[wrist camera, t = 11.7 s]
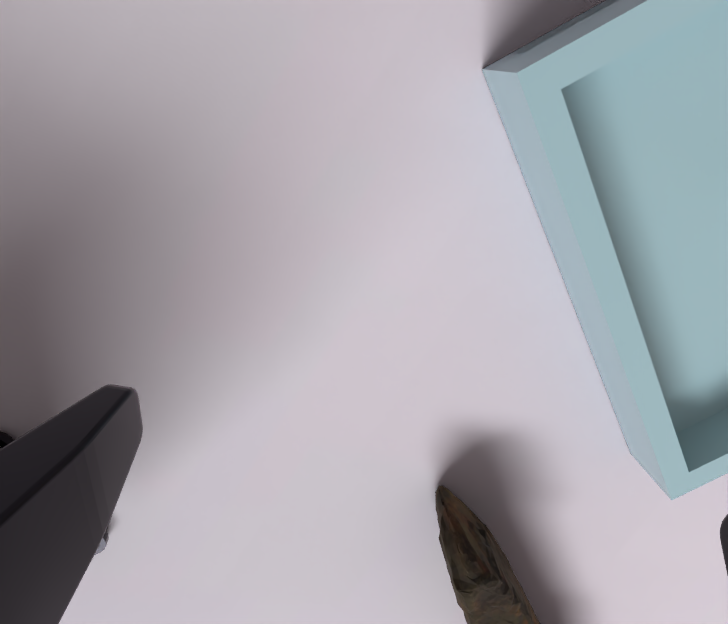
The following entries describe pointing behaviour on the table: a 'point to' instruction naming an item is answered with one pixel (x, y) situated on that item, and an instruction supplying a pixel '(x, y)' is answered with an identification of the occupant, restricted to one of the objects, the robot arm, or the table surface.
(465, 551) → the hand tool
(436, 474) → the table surface
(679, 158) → the parts tray
